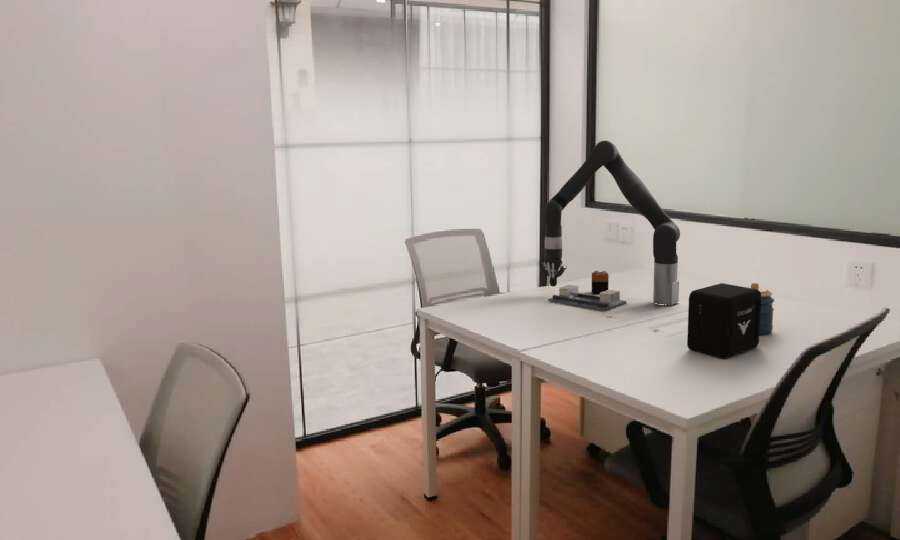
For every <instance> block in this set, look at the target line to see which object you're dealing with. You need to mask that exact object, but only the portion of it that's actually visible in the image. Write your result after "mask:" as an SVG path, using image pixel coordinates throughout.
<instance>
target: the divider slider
mask: <svg viewBox="0 0 900 540" xmlns="http://www.w3.org/2000/svg"><path fill="white" fill-rule="evenodd" d="M558 289H559V291H558V294H559V295H558V296H563V297H569V298H572V297H575V296H578V293H580V292H579V291H580V290H579V289H580V288H579V286H578V285H574V284H573V285H572V284H566V285H563V286H561V287H559V288H558Z"/></svg>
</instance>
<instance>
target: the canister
mask: <svg viewBox="0 0 900 540" xmlns="http://www.w3.org/2000/svg"><path fill="white" fill-rule="evenodd" d="M746 287H747V288H752V289H757V290H759V291H760V292H761V315H760V334H759V337H761V336H763V337H764V336H768V335H770V334H772V332H773V327H774V325H773V321H774V319H773V318H774V310H775V309H774V307H773V303H774V302H775V298H773V297H772V295H773V292H771V290H769V289H768V288H767V287H761V286H760V285H759V283H758V282H752V283H751V284H750V286H746Z"/></svg>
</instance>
